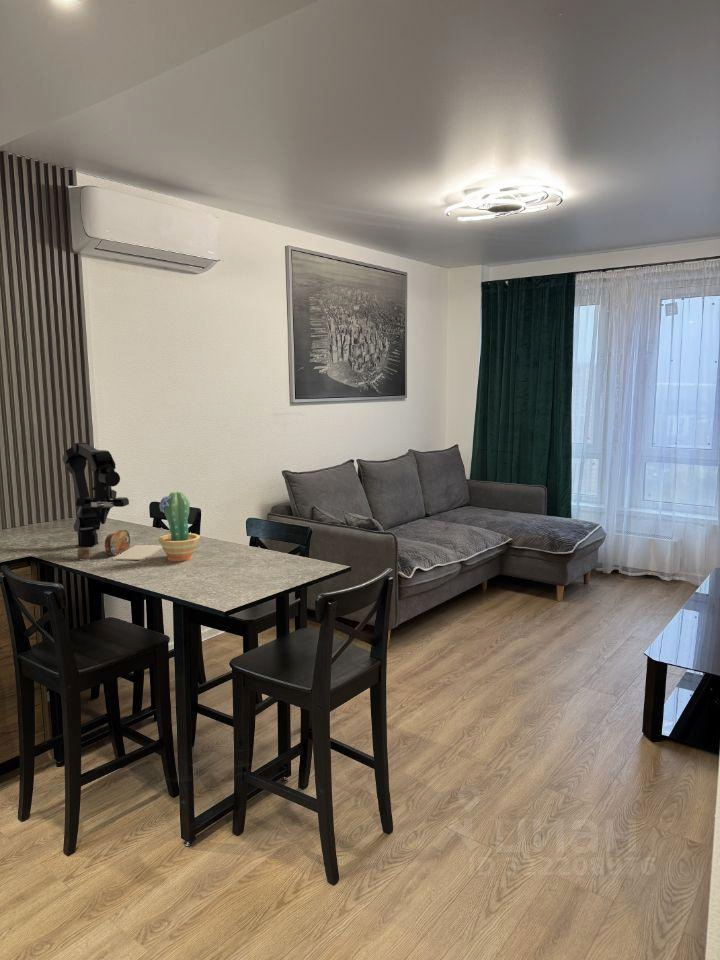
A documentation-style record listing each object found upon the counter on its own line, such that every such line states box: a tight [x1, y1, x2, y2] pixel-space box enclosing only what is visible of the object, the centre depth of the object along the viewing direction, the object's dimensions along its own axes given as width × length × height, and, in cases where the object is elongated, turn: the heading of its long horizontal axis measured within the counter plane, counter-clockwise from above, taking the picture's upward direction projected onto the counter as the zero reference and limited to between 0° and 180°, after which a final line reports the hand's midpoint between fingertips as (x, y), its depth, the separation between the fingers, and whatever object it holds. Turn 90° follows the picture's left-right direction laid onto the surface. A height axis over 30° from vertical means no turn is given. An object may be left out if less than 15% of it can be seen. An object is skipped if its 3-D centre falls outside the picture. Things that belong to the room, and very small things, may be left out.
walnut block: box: [77, 547, 92, 561], centre depth 245 cm, size 4×4×4 cm
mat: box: [111, 544, 163, 562], centre depth 254 cm, size 12×22×1 cm, turn 176°
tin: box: [104, 529, 131, 557], centre depth 254 cm, size 15×3×8 cm, turn 172°
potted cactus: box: [157, 491, 201, 562], centre depth 246 cm, size 15×15×25 cm
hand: (103, 523), depth 254 cm, fingers closed
